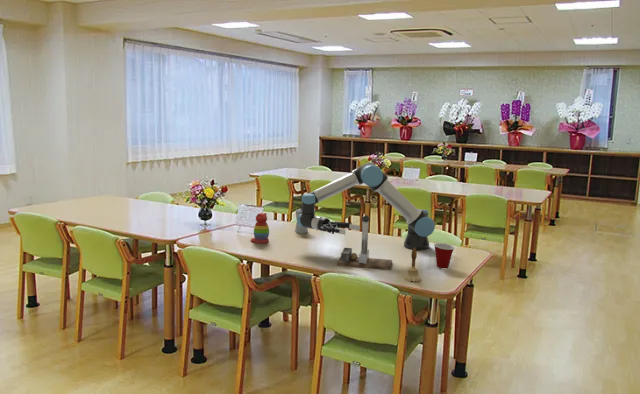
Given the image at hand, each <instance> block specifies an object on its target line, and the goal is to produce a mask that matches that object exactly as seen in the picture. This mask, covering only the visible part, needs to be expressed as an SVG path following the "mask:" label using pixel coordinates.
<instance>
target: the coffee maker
mask: <svg viewBox="0 0 640 394" xmlns="http://www.w3.org/2000/svg"><path fill="white" fill-rule="evenodd" d="M300 214H302V204H301V205H300V209H299V208H298V209H295V217H296V220H297V219H298V216H299V215H300ZM295 224H296V225H295V230H294V232H295V234H301V235H304V234H307V233H309V231H308V230H309V228H305V227H302V226H299V225H298V223H297V222H296V223H295Z"/></svg>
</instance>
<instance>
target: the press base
mask: <svg viewBox="0 0 640 394" xmlns="http://www.w3.org/2000/svg"><path fill="white" fill-rule="evenodd" d="M392 263H393V260H392V259H386V258H385V259H384V258H376V257H375V258H373V257H369V259H368V261H367V263H366V264H364V263H359V255H358V254H357V253H356V252H353V248H352V247H344V248H343V250H342V251H341V253H340V257H339V258H338V260H337V261H336V266H340V267H342V266H343V267H354V268H365V269H374V270H375V269H376V270H386V271H387V270H388V271H390V270H391V268H392Z"/></svg>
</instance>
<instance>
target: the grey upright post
mask: <svg viewBox="0 0 640 394" xmlns="http://www.w3.org/2000/svg"><path fill="white" fill-rule="evenodd" d="M361 221H362V225H361V249H360V252H359V253H358V257H359V263H364V264H366V263H367V261H368V259H369V258H370V249H368V246H369V244H368V242H369V221H370V216H369V215H366V214H365V215H364V214H363V216H362V217H361Z"/></svg>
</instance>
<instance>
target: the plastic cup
mask: <svg viewBox="0 0 640 394" xmlns="http://www.w3.org/2000/svg"><path fill="white" fill-rule="evenodd" d="M433 246H434V251H435V253H434V254H435V261H436V268H438V267H439V268H438V269H441V268H447V269H449V266H450V262H451V258H452V254H453V251H454V250H455V248H456V247H455V246H453V245H451V244H447V243H443V242H442V243H441V242H438V243H434V244H433Z"/></svg>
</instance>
